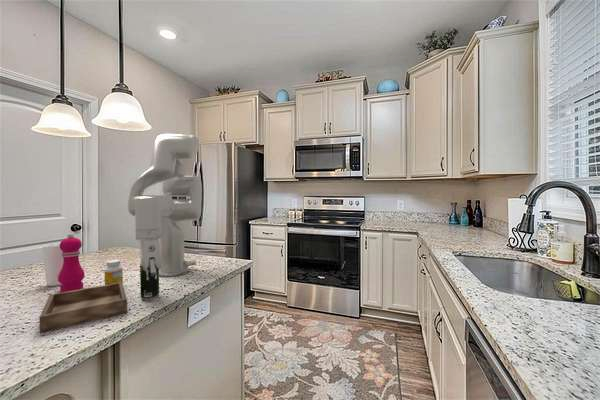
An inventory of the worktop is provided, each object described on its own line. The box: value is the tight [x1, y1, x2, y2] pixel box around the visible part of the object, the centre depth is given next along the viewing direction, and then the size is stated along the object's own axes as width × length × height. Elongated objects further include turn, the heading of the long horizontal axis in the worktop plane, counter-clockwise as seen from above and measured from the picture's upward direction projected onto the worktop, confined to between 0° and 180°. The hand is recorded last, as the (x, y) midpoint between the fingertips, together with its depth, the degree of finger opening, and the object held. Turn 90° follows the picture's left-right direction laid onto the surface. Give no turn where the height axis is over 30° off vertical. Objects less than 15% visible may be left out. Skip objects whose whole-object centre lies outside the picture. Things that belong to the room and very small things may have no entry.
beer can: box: [139, 261, 160, 301], centre depth 88 cm, size 5×5×12 cm
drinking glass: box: [42, 242, 64, 287], centre depth 100 cm, size 7×7×15 cm
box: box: [39, 282, 128, 334], centre depth 78 cm, size 18×18×4 cm
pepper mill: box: [58, 232, 86, 293], centre depth 95 cm, size 7×7×20 cm
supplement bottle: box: [104, 259, 124, 285], centre depth 96 cm, size 5×5×10 cm
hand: (149, 288), depth 88 cm, fingers closed on beer can, 5 cm apart
